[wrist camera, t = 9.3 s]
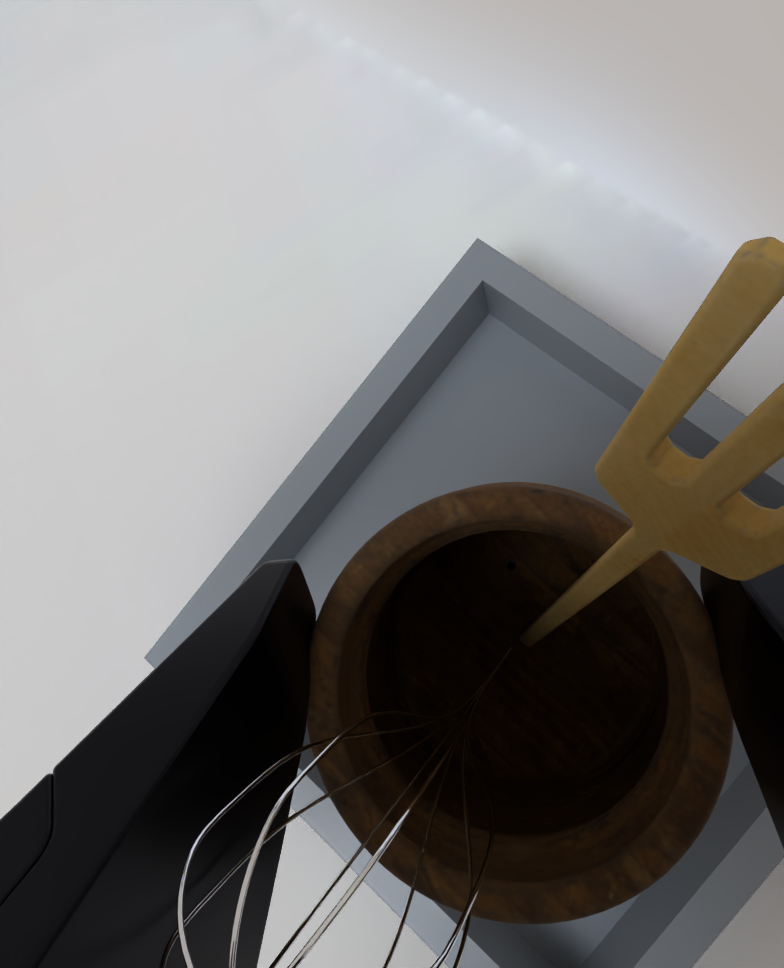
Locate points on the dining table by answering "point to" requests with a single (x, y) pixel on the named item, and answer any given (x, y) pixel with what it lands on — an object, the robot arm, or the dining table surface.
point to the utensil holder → (543, 663)
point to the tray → (492, 459)
